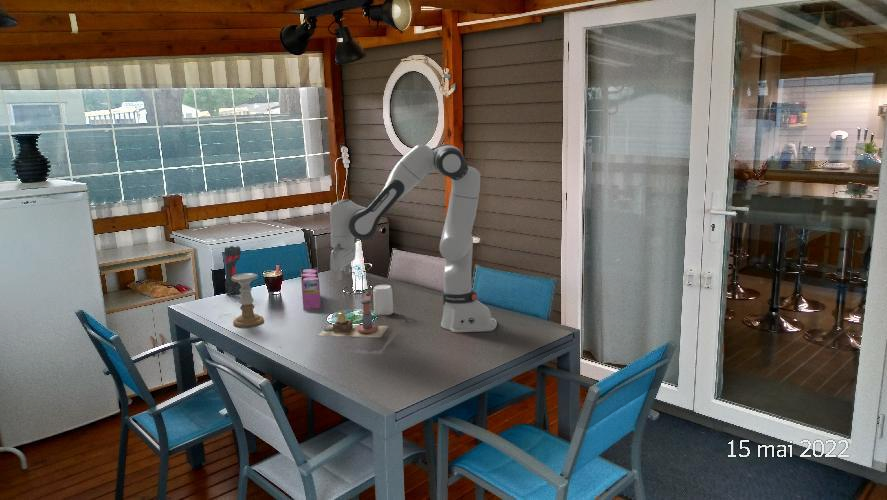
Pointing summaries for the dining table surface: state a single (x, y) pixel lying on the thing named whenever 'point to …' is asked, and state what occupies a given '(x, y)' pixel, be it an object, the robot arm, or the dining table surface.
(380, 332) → the board
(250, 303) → the candle holder
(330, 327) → the slate pad
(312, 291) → the gum box
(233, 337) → the dining table surface
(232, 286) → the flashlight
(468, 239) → the robot arm
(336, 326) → the brown box
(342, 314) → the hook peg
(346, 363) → the dining table surface
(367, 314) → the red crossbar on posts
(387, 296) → the white tapered cylinder
